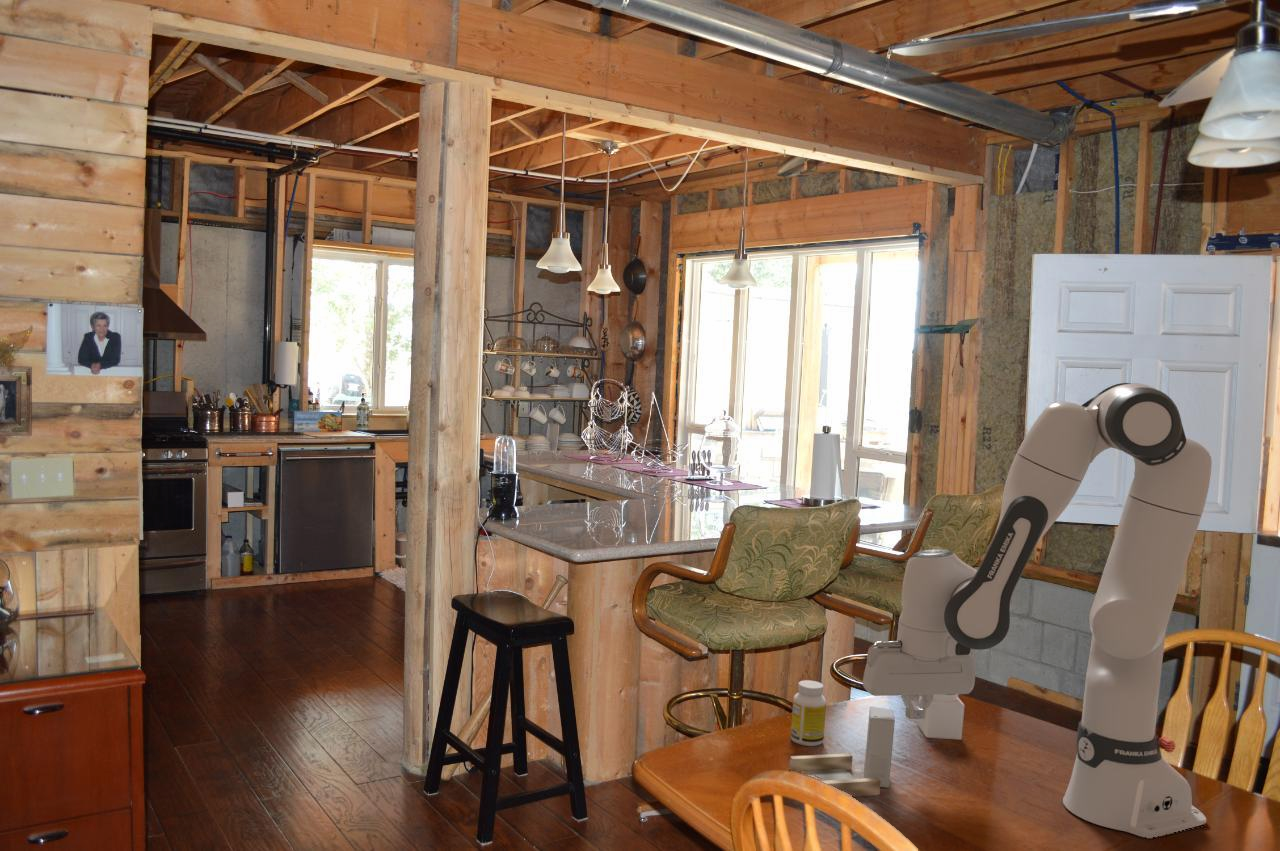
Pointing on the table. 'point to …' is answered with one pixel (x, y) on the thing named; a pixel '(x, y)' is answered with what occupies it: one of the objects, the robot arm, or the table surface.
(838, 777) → the rest
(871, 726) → the skincare box
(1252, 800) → the table surface
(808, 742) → the pill bottle
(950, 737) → the medicine bottle
